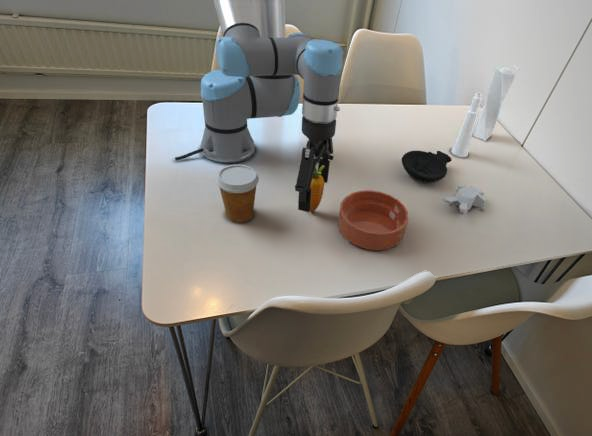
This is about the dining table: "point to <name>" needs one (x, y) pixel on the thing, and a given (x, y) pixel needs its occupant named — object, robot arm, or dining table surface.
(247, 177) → the disposable coffee cup
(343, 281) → the dining table surface
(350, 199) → the bowl
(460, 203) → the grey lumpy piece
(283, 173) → the dining table surface
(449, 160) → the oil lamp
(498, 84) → the skyscraper
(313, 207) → the carrot
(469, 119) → the cosmetic bottle
